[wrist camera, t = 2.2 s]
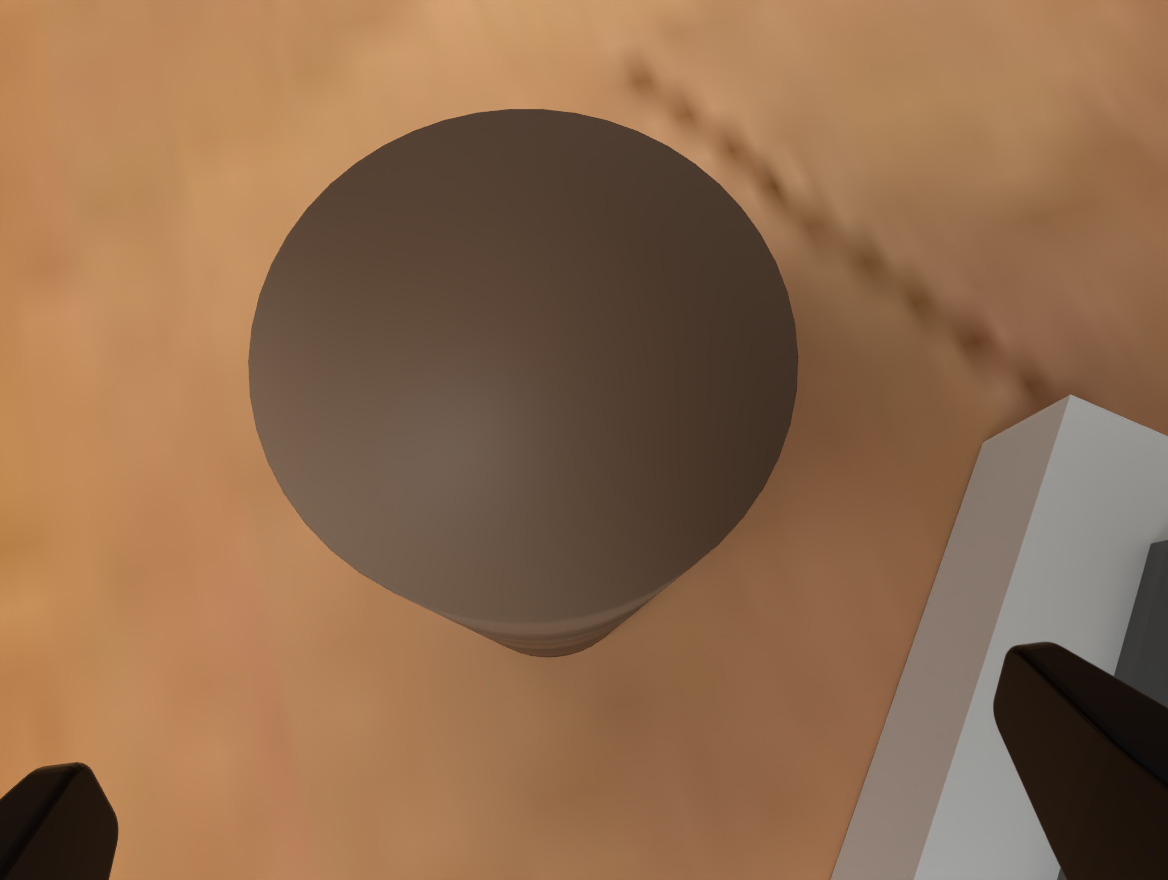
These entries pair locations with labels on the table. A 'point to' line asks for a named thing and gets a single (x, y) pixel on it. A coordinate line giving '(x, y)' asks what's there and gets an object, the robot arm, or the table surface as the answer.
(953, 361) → the table surface
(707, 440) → the walnut peg
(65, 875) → the robot arm
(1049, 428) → the socket block
